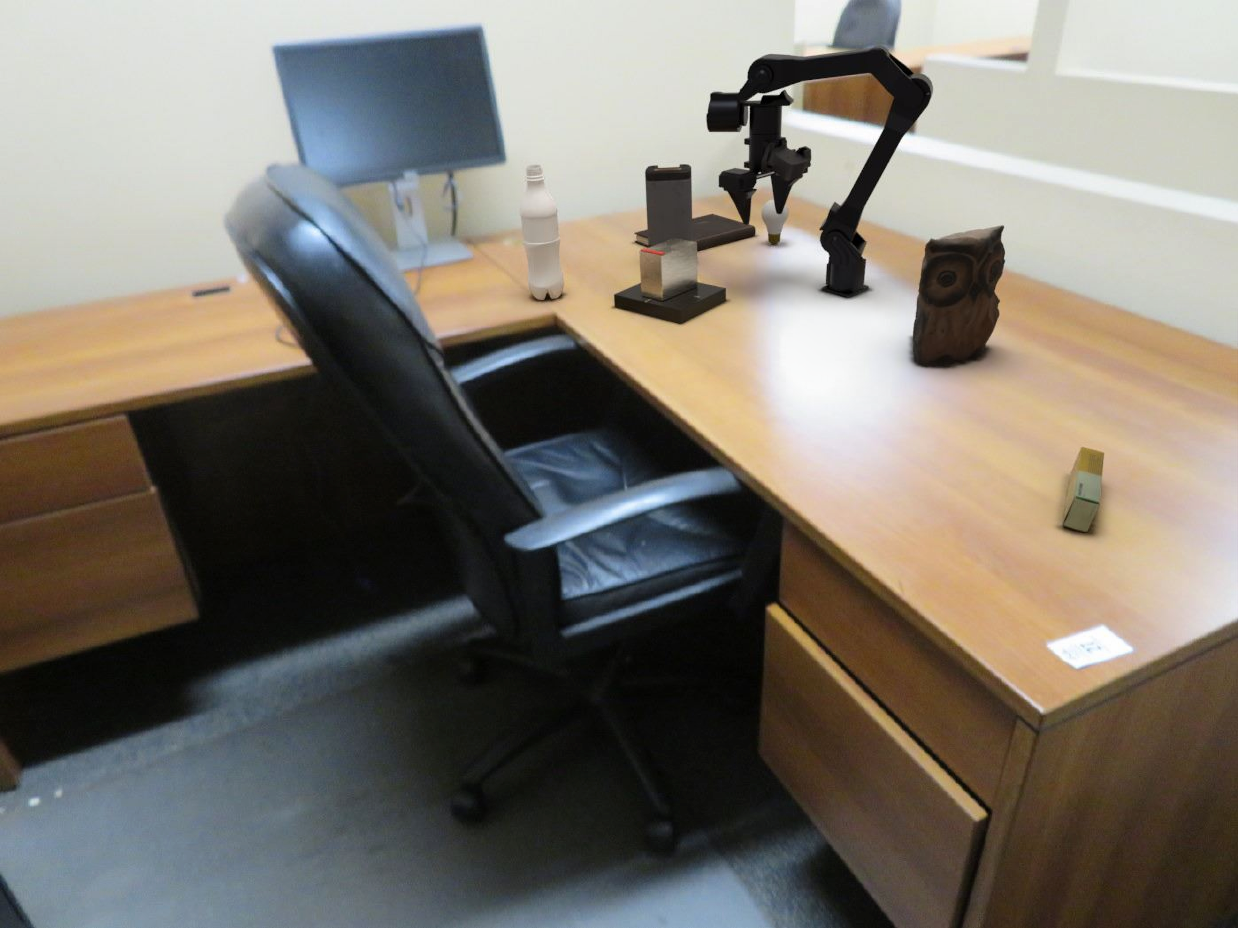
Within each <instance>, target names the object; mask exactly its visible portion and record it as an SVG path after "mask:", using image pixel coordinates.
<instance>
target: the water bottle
mask: <svg viewBox="0 0 1238 928" xmlns="http://www.w3.org/2000/svg"><path fill="white" fill-rule="evenodd" d="M525 172H526V175H525V182H526V189H525V192H524V195H523V198H522V200H521V203H520V206H519V216H520V221H521V230H522V245H523V247H524V250H525V254H526V259H527V286H528V289H529V292H530V293H531V295H532V296H533V297H534V298H535V299H537V301H544V300H545V299H546V297H547V294H548V296H549V297H550V299H551V300H555V299H558V298H559V297H560V296H561V295H562V293H563V291H564V288H565V276H564V272H563V269H562V264H561V258H560V257H561V256H560V245H561V236H560V229H559V219H558V207H557V204H556V202H555V200H554V199H553V197H552V195H551V194H550V192H549V191H548V188H547V187H546V185H545V176H544V173H543V166H542V165H541V164H531V165H527V166H525Z"/></svg>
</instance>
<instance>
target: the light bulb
mask: <svg viewBox="0 0 1238 928" xmlns="http://www.w3.org/2000/svg"><path fill="white" fill-rule="evenodd" d="M789 214H790V213H789V207H788V205H787V203H786V204H785V206H784V209H783V212H782V214H777V213H776V209H775V204H774V198H773V199H769V200H768V201H767V202H765V203H764V204H763V206H762V208H761V214H760V215H761V219H762V221H763V223H764V225H765V228H766V231H767V242H768V243H769V244H771V246H776V245H777V244H778V243H780V242H781V234H782V231H783V228H784V225H785V223H786V222H787V220H788V218H789Z"/></svg>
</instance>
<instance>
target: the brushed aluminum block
mask: <svg viewBox="0 0 1238 928" xmlns="http://www.w3.org/2000/svg"><path fill="white" fill-rule="evenodd" d="M638 252H639V253H638V254H639V272H640V274H639V275H640V283H641V295H642V296H645V297H649V298H653V299H656V300H660V301H664V300H667V299H669V298H671V297H674V296H676V295H678V294H681V293H683V292H685V291H688V290H690V289H692V288H695V287H697V286H698V279H699V278H698V277H699V275H698V251H697V242H693V241H688V240H683V239H678V238H674V239H671V240H668V241H665V242H663V243H660V244H657V245H655V246H652V247H649V248H648V247H647V248H645V247H643V248H641V249H640V250H639V251H638Z"/></svg>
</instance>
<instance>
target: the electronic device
mask: <svg viewBox="0 0 1238 928" xmlns="http://www.w3.org/2000/svg"><path fill="white" fill-rule="evenodd" d="M644 176H645V177H644V178H645V179H644V181H645V182H644V183H645V204H646V224H647V227H646V230H647V229H648V247H647V248H649V247H652V246H655V245H657V244H660V243H663V242H665V241H668V240H671V239H674V238H678V239H683V240H688V241H693V237H692V219H693V186H692V185H693V184H692V166H691V165H690V164H687V163H680V164H679V166H671V167H659V165H658V164H657V165H655V164H653V165H649V166H647V167H646V168H645V170H644Z"/></svg>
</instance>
